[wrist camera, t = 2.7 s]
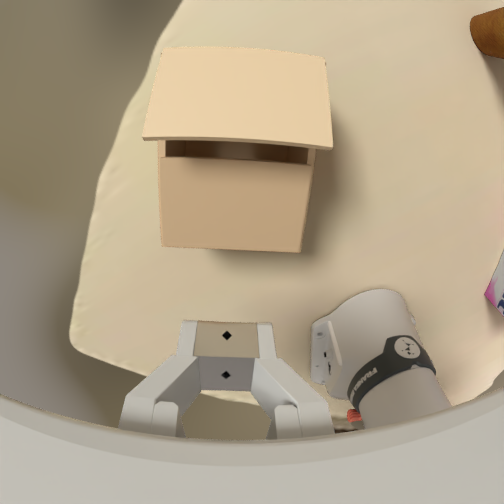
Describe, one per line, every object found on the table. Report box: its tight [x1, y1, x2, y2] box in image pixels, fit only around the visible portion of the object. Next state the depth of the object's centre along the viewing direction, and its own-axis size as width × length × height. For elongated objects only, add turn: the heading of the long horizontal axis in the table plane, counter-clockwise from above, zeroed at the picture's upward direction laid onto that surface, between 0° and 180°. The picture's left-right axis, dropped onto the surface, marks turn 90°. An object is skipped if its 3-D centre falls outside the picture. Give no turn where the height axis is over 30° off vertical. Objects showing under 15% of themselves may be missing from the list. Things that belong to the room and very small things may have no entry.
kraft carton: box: [158, 53, 326, 253], centre depth 26 cm, size 16×12×10 cm
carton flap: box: [142, 47, 333, 151], centre depth 17 cm, size 8×11×1 cm
